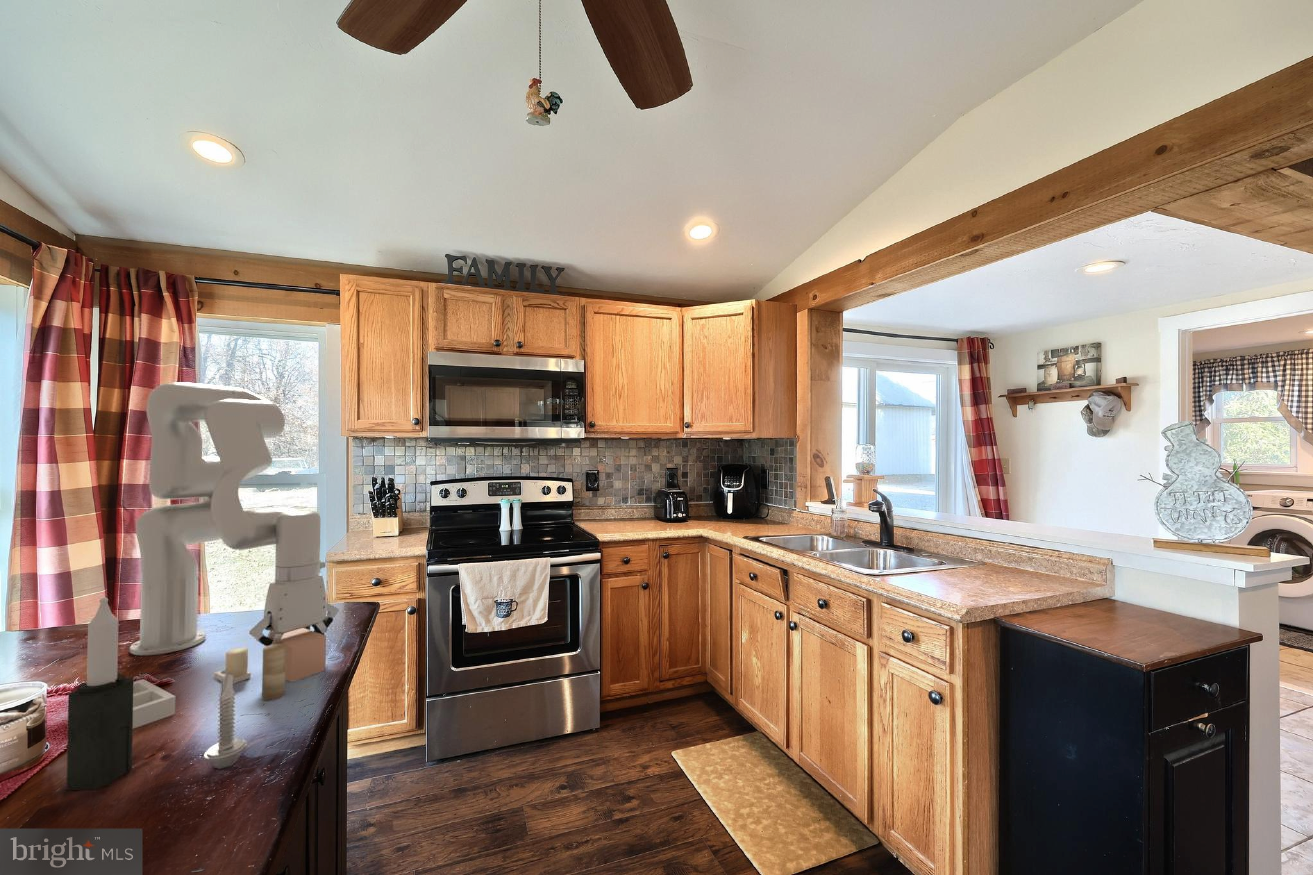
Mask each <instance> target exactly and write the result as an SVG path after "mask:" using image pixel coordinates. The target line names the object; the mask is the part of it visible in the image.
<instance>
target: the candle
mask: <svg viewBox="0 0 1313 875" xmlns="http://www.w3.org/2000/svg"><path fill="white" fill-rule="evenodd" d="M108 602H109V599H108V598H107V597H101V598H100V599H99V603H100V604H99V607H97V608H98V609H97V611H96V614H95V615H94V617H93V618H92V619H91V620H90V622H89V623H88V624H87V646H86V647H87V649H86V650H87V652H86V660H87V661H86V682H81V683H80V684H78V685H77V689H74V690H72V691H71V692H69V693H68V695H67V696H68V697H67V698H68V700H67V701H68V705H67V750H66V753H67V754H66V790H67V791H89V790H90V791H91V790H93V789H94V790H98V789H99V790H100V789H102V788H105V787H107V786H109V785H111V784H112V782H114V781H115V780H117V779H118V778H120V777H121V776H122V775H124V774H126V773H127V772H130V771H131V770H132V768H133V683H134V682H135V681H134V680H135V679H134V678H132V677H127V676H126V675H125V674H123V673H118V665H119V664H118V663H119V662H118V659H119V658H118V657H119V656H118V655H119V619H118V618H117V617H116V616H115V615H114V614H113V613H112V610H111V609H110V606H109V604H108Z"/></svg>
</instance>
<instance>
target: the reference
mask: <svg viewBox="0 0 1313 875" xmlns="http://www.w3.org/2000/svg"><path fill="white" fill-rule="evenodd" d="M248 657H249V649H248V648H247V647H238V648H233V649H230V650H228V651H226V652H225V666H224V667H225V669H222V670H219V671H216V672H214V676H213V678H214V679H216V680H218V681H221V678H222V677H223V676H225V675H226V674H230V675H233V685H234V684H236V683H240V682H242V681H246V680H248V679H250V678H251V676H252V675H251V674H252V673H251V672H250V671H249V670H248V664H249V663H248V661H249V658H248Z"/></svg>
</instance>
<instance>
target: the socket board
mask: <svg viewBox="0 0 1313 875" xmlns="http://www.w3.org/2000/svg"><path fill="white" fill-rule="evenodd" d="M175 714H176V695H173V694H172V693H170V692H168V691H167V690H164V689H162V688H161V687H159V686H157V685H155V684H153V683H151V682H150V681H147V680H146V679H145V678H144V679H143V678H142V679H139V680H136V681H134V683H133V729H134V730H135V729H136V728H140V727H142V726H144V725H147V724H150V723H153V722H156V721H159V720H162V719H165V718H168V717H171V716H173V715H175Z"/></svg>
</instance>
